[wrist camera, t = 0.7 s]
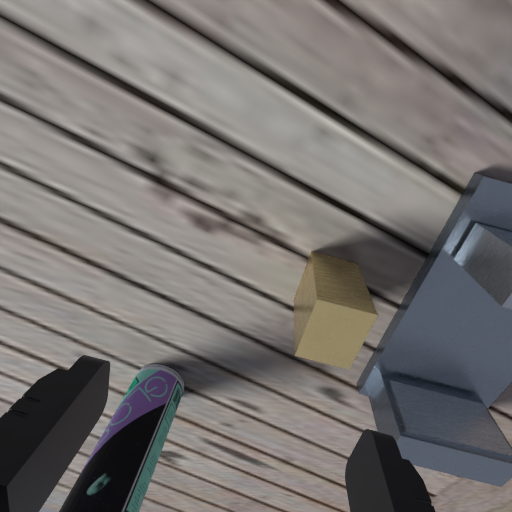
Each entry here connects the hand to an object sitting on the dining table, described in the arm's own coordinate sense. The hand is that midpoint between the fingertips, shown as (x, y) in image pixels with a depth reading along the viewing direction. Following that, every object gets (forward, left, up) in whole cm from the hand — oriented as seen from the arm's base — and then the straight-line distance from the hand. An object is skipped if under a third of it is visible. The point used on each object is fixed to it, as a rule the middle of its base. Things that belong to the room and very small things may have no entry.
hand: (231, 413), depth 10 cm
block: (+4, +6, -17) cm, 19 cm away
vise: (+4, +19, -17) cm, 26 cm away
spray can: (+22, -7, -18) cm, 29 cm away
